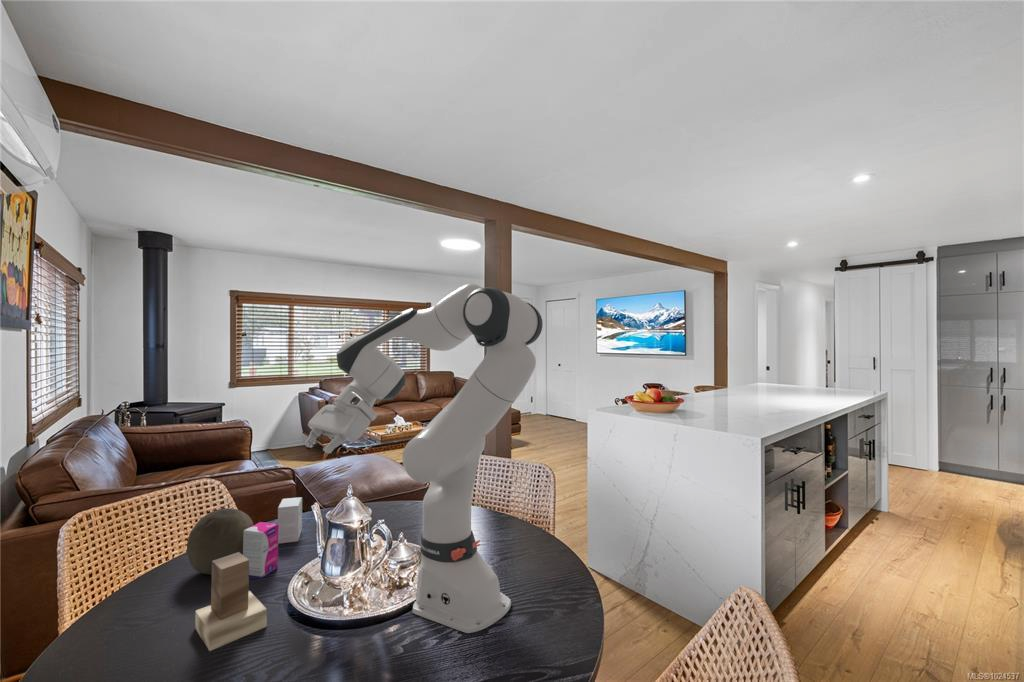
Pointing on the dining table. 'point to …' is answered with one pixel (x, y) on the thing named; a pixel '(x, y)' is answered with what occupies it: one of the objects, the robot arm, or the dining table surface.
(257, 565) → the supplement box
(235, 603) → the walnut block
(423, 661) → the dining table surface
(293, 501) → the small box
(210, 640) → the beech block
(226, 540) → the cantaloupe
